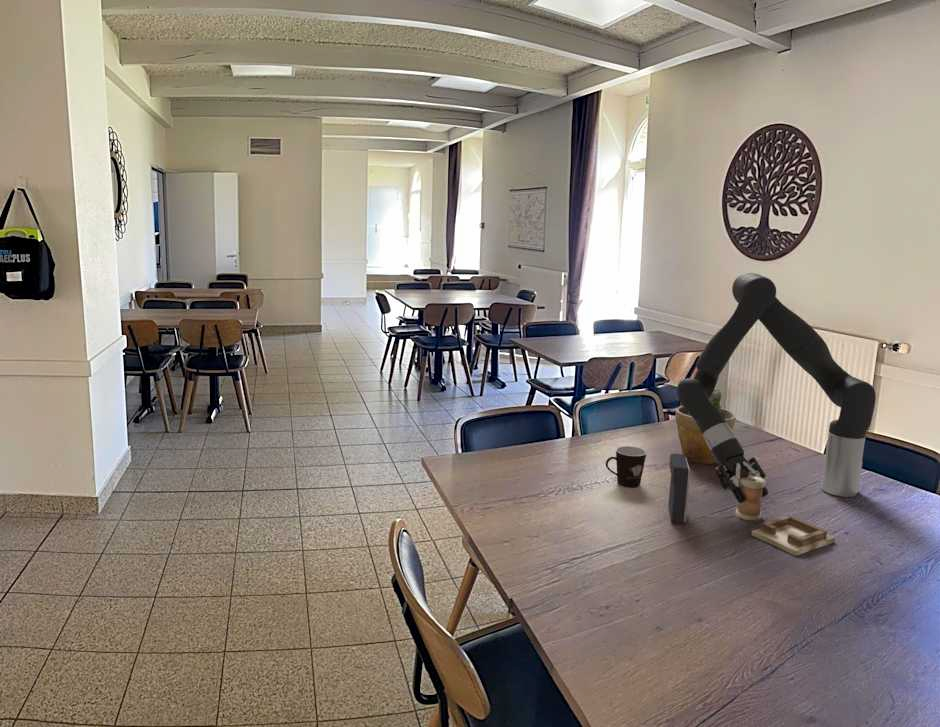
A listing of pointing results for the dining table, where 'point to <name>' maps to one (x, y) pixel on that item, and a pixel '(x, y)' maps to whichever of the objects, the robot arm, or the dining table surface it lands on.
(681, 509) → the calculator
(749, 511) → the bobbin
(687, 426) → the potted plant
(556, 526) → the dining table surface
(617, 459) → the coffee mug
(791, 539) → the board
